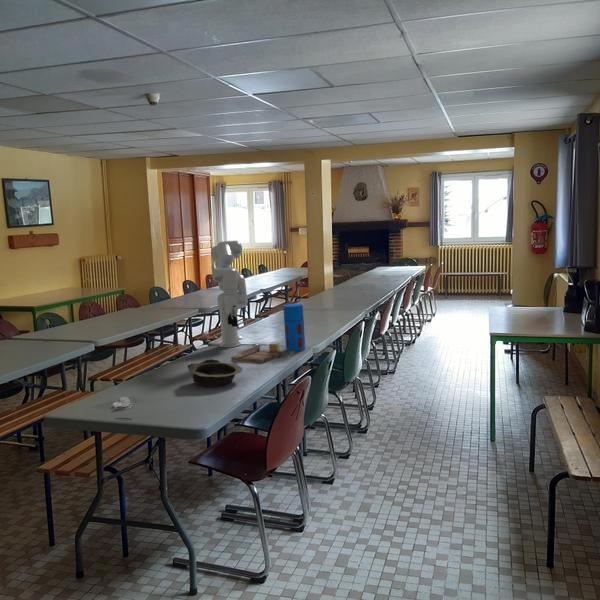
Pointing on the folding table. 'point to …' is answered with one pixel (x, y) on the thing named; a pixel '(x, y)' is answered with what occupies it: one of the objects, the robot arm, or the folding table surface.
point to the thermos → (294, 327)
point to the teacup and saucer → (122, 402)
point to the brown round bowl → (213, 373)
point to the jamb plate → (258, 356)
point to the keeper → (274, 347)
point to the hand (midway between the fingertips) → (232, 325)
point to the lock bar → (248, 350)
